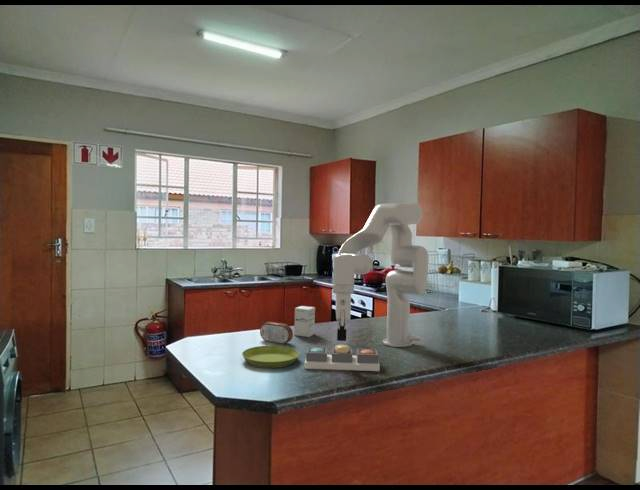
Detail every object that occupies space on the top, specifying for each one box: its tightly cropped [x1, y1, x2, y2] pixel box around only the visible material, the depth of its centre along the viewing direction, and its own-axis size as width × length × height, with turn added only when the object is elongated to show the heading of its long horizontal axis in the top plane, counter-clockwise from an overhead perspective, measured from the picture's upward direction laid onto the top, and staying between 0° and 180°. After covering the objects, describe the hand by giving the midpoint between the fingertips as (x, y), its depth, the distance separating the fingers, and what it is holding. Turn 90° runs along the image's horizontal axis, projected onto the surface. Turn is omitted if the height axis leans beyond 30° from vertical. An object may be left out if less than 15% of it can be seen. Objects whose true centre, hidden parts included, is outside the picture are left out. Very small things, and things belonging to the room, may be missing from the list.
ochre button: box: [334, 344, 350, 354], centre depth 156 cm, size 5×5×3 cm
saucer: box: [241, 345, 300, 369], centre depth 160 cm, size 21×21×3 cm
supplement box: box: [293, 305, 316, 338], centre depth 200 cm, size 7×7×13 cm
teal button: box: [310, 347, 324, 353], centre depth 157 cm, size 5×5×3 cm
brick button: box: [360, 350, 374, 354], centre depth 156 cm, size 5×5×3 cm
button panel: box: [303, 346, 381, 372], centre depth 156 cm, size 26×11×5 cm, turn 87°
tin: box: [259, 321, 294, 345], centre depth 186 cm, size 15×3×8 cm, turn 65°
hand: (341, 340), depth 156 cm, fingers closed
